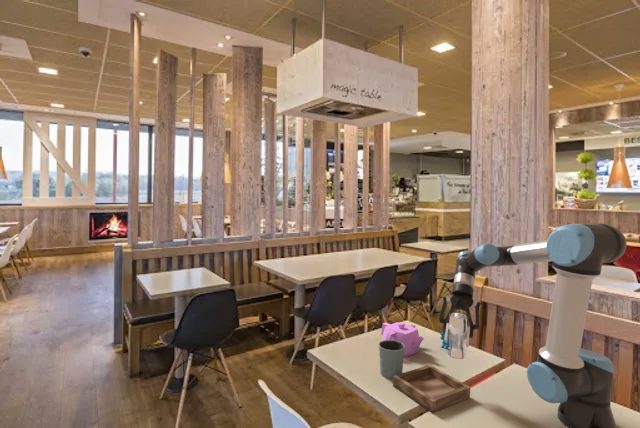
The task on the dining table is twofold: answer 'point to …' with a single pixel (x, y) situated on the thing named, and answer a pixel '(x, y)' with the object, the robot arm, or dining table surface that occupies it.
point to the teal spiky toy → (444, 341)
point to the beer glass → (457, 334)
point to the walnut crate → (431, 388)
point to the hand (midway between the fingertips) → (456, 343)
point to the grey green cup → (391, 358)
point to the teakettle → (403, 336)
